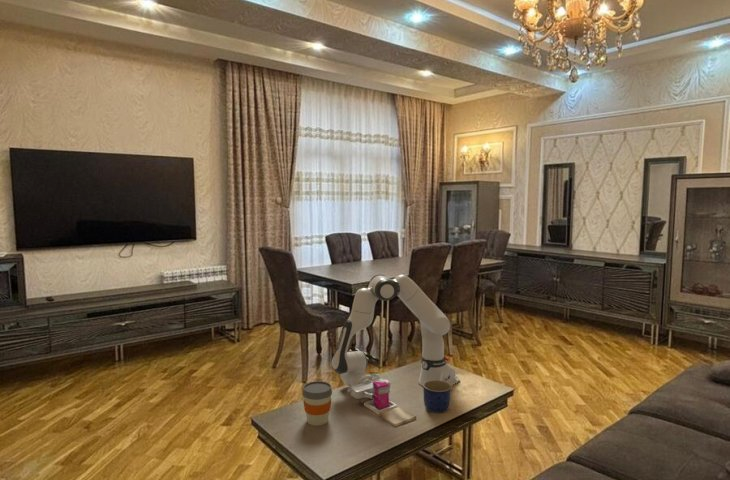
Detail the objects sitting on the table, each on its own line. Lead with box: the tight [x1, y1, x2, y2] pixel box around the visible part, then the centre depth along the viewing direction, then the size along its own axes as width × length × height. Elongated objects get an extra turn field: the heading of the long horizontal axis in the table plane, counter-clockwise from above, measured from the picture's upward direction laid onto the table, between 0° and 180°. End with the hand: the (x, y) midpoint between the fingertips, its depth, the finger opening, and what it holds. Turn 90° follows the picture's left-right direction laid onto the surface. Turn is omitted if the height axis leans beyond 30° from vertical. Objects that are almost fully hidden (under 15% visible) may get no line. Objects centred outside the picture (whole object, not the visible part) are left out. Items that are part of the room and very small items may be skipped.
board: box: [378, 406, 417, 427], centre depth 195 cm, size 12×11×1 cm
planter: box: [422, 380, 452, 414], centre depth 203 cm, size 12×12×11 cm
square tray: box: [363, 399, 399, 416], centre depth 205 cm, size 11×11×2 cm
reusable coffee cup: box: [302, 380, 333, 427], centre depth 191 cm, size 13×13×15 cm
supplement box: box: [372, 380, 390, 410], centre depth 204 cm, size 6×6×12 cm
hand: (380, 394), depth 204 cm, fingers open, 8 cm apart
